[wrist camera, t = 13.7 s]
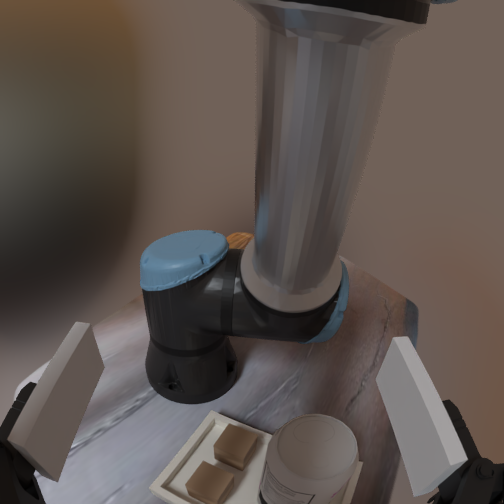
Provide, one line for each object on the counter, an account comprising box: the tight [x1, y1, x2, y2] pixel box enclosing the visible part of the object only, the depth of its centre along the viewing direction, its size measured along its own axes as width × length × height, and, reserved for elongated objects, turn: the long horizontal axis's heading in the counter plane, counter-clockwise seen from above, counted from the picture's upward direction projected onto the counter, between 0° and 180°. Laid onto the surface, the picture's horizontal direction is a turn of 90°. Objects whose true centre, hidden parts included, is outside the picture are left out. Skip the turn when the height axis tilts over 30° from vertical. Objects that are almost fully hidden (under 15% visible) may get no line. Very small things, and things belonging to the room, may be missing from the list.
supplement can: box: [257, 414, 359, 504], centre depth 25 cm, size 8×8×15 cm
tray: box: [149, 410, 363, 504], centre depth 30 cm, size 22×15×2 cm
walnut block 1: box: [185, 461, 234, 504], centre depth 28 cm, size 4×4×4 cm
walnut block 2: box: [213, 423, 258, 471], centre depth 34 cm, size 4×4×4 cm
